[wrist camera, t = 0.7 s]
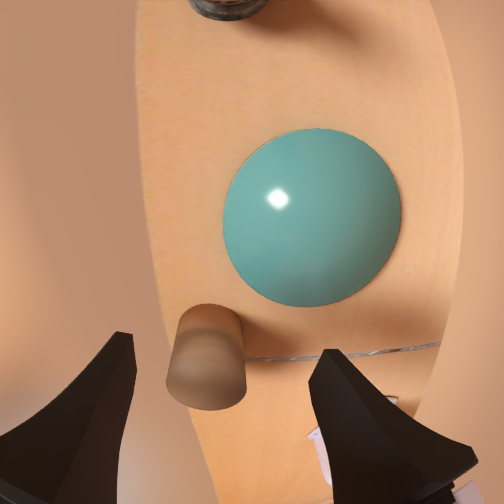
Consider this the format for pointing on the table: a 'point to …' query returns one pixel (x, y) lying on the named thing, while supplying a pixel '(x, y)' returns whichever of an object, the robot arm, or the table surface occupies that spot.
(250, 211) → the teal rounded disc
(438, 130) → the table surface
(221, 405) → the walnut cylinder
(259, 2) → the salt shaker
